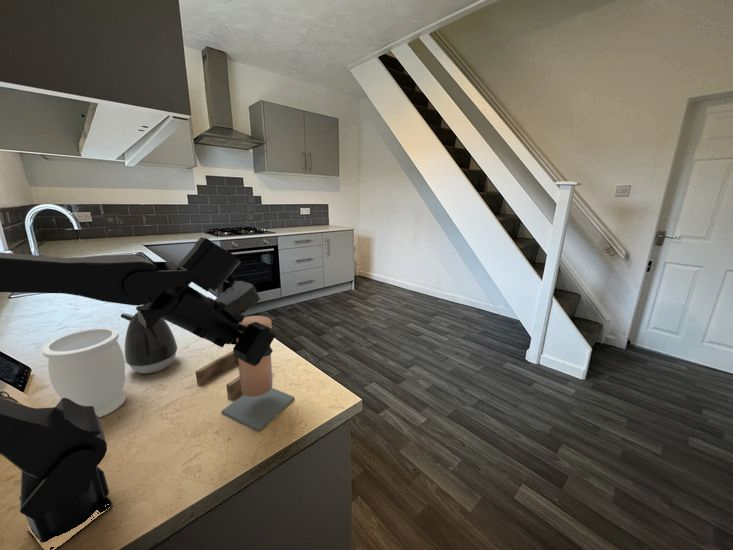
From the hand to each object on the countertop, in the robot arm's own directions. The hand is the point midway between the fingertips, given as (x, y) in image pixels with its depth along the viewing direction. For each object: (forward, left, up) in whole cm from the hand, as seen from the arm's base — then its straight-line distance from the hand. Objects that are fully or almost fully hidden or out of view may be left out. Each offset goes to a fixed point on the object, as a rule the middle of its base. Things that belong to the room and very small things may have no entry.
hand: (260, 347), depth 57 cm
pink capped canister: (-1, 0, -8) cm, 8 cm away
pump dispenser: (-3, +33, -13) cm, 36 cm away
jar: (-16, +28, -13) cm, 35 cm away
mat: (-1, 0, -13) cm, 13 cm away
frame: (+3, +12, -13) cm, 18 cm away
